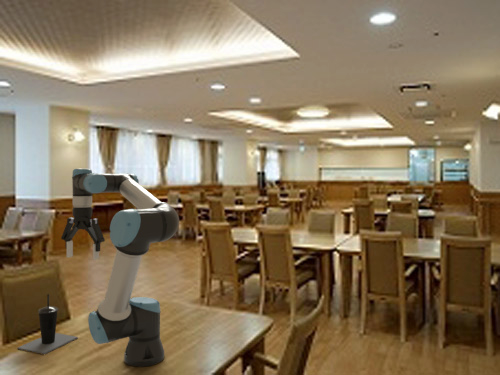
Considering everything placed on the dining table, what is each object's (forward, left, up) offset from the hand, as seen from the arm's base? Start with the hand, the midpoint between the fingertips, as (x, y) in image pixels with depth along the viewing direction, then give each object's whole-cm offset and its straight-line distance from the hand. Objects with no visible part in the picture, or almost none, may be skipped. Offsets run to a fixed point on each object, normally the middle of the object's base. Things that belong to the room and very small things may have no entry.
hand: (82, 258), depth 176 cm
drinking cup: (+15, +3, -36) cm, 39 cm away
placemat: (+15, +3, -36) cm, 39 cm away
